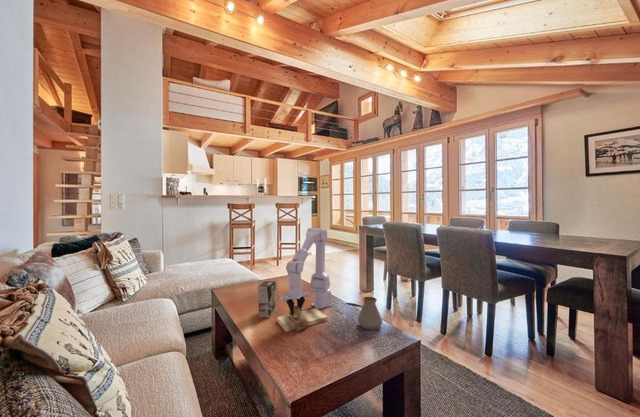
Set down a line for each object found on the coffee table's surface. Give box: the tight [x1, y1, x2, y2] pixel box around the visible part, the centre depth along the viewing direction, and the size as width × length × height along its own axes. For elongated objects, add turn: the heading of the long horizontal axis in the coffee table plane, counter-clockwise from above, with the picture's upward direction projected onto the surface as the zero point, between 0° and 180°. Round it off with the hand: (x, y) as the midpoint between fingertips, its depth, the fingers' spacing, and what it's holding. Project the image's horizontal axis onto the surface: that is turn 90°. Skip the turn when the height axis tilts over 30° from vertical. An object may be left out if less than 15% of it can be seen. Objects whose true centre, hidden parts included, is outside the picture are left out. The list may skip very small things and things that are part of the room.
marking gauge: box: [288, 305, 308, 332], centre depth 129 cm, size 5×13×8 cm, turn 29°
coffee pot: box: [343, 296, 383, 331], centre depth 123 cm, size 21×12×15 cm, turn 129°
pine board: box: [276, 307, 329, 333], centre depth 132 cm, size 22×12×2 cm, turn 119°
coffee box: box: [257, 280, 277, 319], centre depth 141 cm, size 9×6×16 cm
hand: (295, 313), depth 129 cm, fingers closed on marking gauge, 3 cm apart
